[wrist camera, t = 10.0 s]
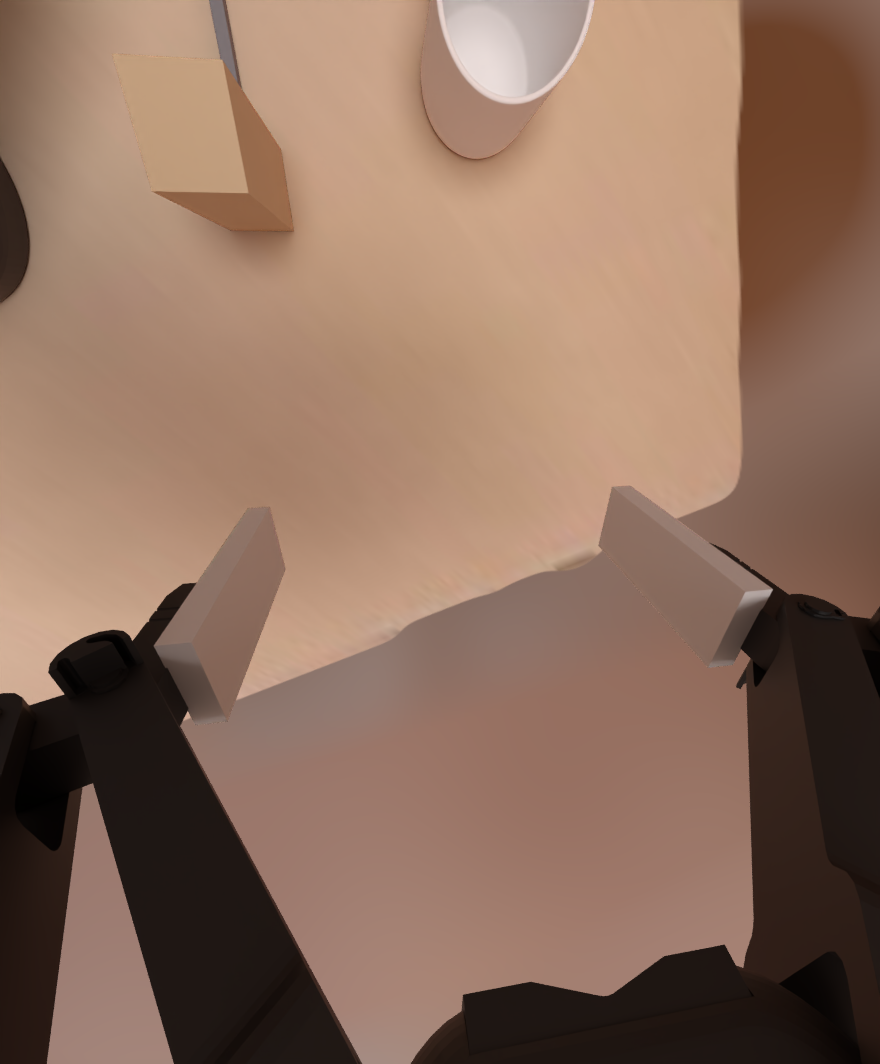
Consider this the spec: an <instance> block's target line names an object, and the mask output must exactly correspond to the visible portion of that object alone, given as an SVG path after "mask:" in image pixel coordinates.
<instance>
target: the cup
mask: <svg viewBox="0 0 880 1064" xmlns="http://www.w3.org/2000/svg"><path fill="white" fill-rule="evenodd" d="M594 1H595V0H430V2H429V9H428V16H427V23H426V29H425V36H424V43H423V50H422V59H421V88H422V95H423V101H424V105H425V109H426V112H427V115H428V118H429V120H430V123H431V125H432V127H433V129H434V130H435V132H436V134H437V135H438V136H439V138H440V139H441V140H442V141H443V143H444V144H445V145H446V146H447V147H448V148H450V149H451V150H452V151H454V152H455V153H457V154H459V155H461V156H463V157H467V158H472V159H482V158H487V157H490V156H493V155H495V154H497V153H499V152H500V151H502V150H503V149H505V148H506V147H507V146H508V145H509V144H510V143H511V142H512V141H513V140H514V139H515V138H516V137H517V135H518V134H519V133H520V132H521V130H522V129H523V128H524V127H525V125H526V124H527V123H528V121H529V120H530V119H531V118H532V116H533V115H534V114H535V112H536V111H537V110H538V109H539V107H540V106H541V105H542V103H543V102H544V101H545V100H546V98H547V97H548V96H549V94H550V93H551V92H552V91H553V89H554V88H555V87H556V85H557V84H558V83H559V82H560V80H561V79H562V78H563V76H564V75H565V74H566V73H567V71H568V70H569V68H570V67H571V65H572V64H573V62H574V60H575V58H576V57H577V55H578V53H579V51H580V48H581V46H582V44H583V41H584V39H585V36H586V34H587V30H588V27H589V24H590V20H591V16H592V12H593V7H594Z"/></svg>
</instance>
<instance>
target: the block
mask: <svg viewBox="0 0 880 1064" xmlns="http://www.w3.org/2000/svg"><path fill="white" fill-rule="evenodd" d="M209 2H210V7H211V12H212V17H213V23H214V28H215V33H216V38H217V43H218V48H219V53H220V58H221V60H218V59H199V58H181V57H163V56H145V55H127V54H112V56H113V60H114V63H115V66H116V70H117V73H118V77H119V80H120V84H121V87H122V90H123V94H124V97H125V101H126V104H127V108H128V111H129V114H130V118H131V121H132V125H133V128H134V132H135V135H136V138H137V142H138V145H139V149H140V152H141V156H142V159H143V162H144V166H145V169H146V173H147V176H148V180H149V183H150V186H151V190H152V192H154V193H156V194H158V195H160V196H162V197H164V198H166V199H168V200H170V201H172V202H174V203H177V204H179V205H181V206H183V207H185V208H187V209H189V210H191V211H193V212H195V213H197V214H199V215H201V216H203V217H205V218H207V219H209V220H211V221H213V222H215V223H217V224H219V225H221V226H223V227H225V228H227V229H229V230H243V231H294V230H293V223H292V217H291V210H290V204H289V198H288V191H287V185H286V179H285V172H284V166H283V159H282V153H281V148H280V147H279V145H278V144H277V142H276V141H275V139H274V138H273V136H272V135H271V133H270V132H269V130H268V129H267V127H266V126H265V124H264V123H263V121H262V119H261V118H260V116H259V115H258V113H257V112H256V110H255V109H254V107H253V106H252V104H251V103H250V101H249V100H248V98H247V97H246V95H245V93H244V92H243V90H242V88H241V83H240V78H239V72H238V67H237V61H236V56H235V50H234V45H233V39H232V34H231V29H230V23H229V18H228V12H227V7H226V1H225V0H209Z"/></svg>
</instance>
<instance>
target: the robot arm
mask: <svg viewBox="0 0 880 1064" xmlns="http://www.w3.org/2000/svg"><path fill="white" fill-rule="evenodd" d="M27 257H28V234H27V227H26V222H25V217H24V213H23V209H22V206H21V203H20V200H19V197H18V195H17V192H16V190H15V187H14V185H13V183H12V181H11V179H10V177H9V175H8V173H7V171H6V169H5V167H4V165H3V164H2V162H1V160H0V302H1V301H2V300H4V299H5V298H6V297H8V296H9V295H10V294H11V293H12V292H13V291H14V289H15V288H16V287H17V285H18V284H19V282H20V280H21V278H22V276H23V274H24V271H25V268H26V263H27ZM598 546H599V547H600V548H601V549H602V550H603V551H604V552H605V553H606V555H607V556H608V557H609V558H610V559H611V560H612V561H613V562H614V563H615V564H616V565H617V567H618V568H619V569H620V570H621V571H622V572H623V573H624V575H625V576H626V577H627V578H628V579H629V580H630V581H631V582H632V583H633V585H634V586H635V587H636V588H637V589H638V590H639V591H640V592H641V593H642V594H643V596H644V597H645V598H646V599H647V600H648V601H649V602H650V604H651V605H652V606H653V607H654V608H655V609H656V610H657V611H658V612H659V614H660V615H661V616H662V617H663V618H664V619H665V620H666V621H667V622H668V623H669V625H670V626H671V627H672V628H673V629H674V630H675V631H676V632H677V634H678V635H679V636H680V637H681V638H682V639H683V640H684V641H685V643H686V644H687V645H688V646H689V647H690V648H691V649H692V650H693V651H694V652H695V654H696V655H697V656H698V657H699V658H700V659H701V660H702V661H703V663H704V664H705V665H706V666H707V667H708V668H710V667H719V666H728V665H733V663H734V661H735V660H736V658H737V656H738V654H739V652H740V650H741V649H742V650H743V651H744V652H745V653H746V654H747V655H748V656H749V657H750V658H751V659H750V661H749V663H748V665H747V667H746V668H745V670H744V672H743V674H742V676H741V677H740V679H739V681H738V683H737V686H736V687H737V688H739V689H741V687H742V685H743V684H745V683H747V714H748V715H747V716H748V749H749V777H750V778H749V781H750V814H751V847H752V876H753V877H752V879H753V912H754V922H753V932H752V937H751V940H750V943H749V946H748V949H747V952H746V956H745V962H744V968H742V967H739V966H736V965H735V963H734V961H733V960H732V957H731V956H730V954H729V952H728V950H727V948H726V946H725V945H720V946H715V947H711V948H705V949H700V950H695V951H690V952H684V953H679V954H673V955H668V956H664V957H663V958H661V959H660V960H659V961H657V962H656V963H654V964H653V965H652V966H650V967H649V968H648V969H646V970H645V971H643V972H642V973H641V974H640V975H638V976H637V977H635V978H634V979H632V980H631V981H630V982H628V983H627V984H626V985H624V986H623V987H622V988H620V989H619V990H617V991H616V992H615V993H614V994H611V995H609V996H598V995H593V994H588V993H583V992H578V991H573V990H568V989H563V988H558V987H553V986H549V985H544V984H539V983H534V982H528V983H522V984H517V985H512V986H506V987H501V988H496V989H491V990H485V991H480V992H475V993H470V994H465V995H463V1001H462V1011H461V1012H460V1013H458V1014H457V1015H455V1016H454V1017H453V1018H451V1019H450V1020H448V1021H447V1022H446V1023H444V1024H443V1025H442V1026H441V1027H440V1028H439V1029H438V1030H437V1031H436V1032H435V1033H434V1034H433V1035H432V1036H431V1037H430V1038H429V1039H428V1041H427V1042H426V1043H425V1044H424V1046H423V1047H422V1048H421V1049H420V1051H419V1052H418V1053H417V1055H416V1056H415V1058H414V1059H413V1061H412V1062H411V1064H880V607H879V608H878V610H877V611H876V613H875V614H874V615H873V617H872V618H871V619H868V618H860V617H852V616H848V615H847V614H846V613H845V612H844V611H842V610H841V609H840V608H838V607H837V606H835V605H833V604H831V603H829V602H827V601H825V600H822V599H819V598H816V597H813V596H809V595H803V594H791V595H789V594H787V593H786V592H784V591H783V590H782V589H780V588H779V587H777V586H776V585H775V584H773V583H772V582H770V581H769V580H768V579H766V578H765V577H763V576H762V575H760V574H759V573H758V572H756V571H755V570H753V569H750V567H749V566H748V565H746V564H745V563H744V562H740V561H739V559H738V558H737V557H735V556H734V555H732V554H731V553H730V552H728V551H726V550H724V549H722V548H720V547H718V546H716V545H714V544H711V543H709V542H707V541H706V540H704V539H703V538H701V537H700V536H699V535H698V534H696V533H695V532H693V531H692V530H690V529H689V528H688V527H686V526H685V525H683V524H682V523H681V522H679V521H678V520H677V519H675V518H674V517H673V516H671V515H670V514H669V513H667V512H666V511H664V510H663V509H662V508H660V507H659V506H658V505H656V504H655V503H653V502H652V501H651V500H649V499H648V498H647V497H645V496H644V495H642V494H641V493H640V492H638V491H637V490H635V489H634V488H633V487H631V486H617V487H612V489H611V494H610V498H609V502H608V507H607V511H606V515H605V520H604V524H603V528H602V532H601V537H600V541H599V545H598ZM284 572H285V565H284V561H283V557H282V553H281V549H280V545H279V541H278V537H277V533H276V529H275V525H274V521H273V518H272V514H271V510H270V507H261V508H248V509H247V510H246V512H245V513H244V515H243V516H242V518H241V519H240V520H239V522H238V523H237V525H236V526H235V528H234V529H233V531H232V532H231V534H230V535H229V537H228V538H227V539H226V541H225V542H224V544H223V545H222V547H221V548H220V550H219V551H218V553H217V554H216V556H215V557H214V558H213V560H212V561H211V563H210V564H209V566H208V567H207V569H206V570H205V572H204V573H203V575H202V576H201V577H200V579H199V580H198V582H197V583H189V584H182V585H181V586H179V587H178V588H177V589H175V590H174V591H173V592H171V593H170V594H169V595H167V596H166V598H165V599H164V600H163V602H162V603H161V604H160V606H159V607H158V608H157V611H155V612H154V614H153V615H152V616H151V617H150V619H149V622H147V623H146V624H145V625H144V627H143V628H142V629H141V631H140V632H139V633H138V635H137V636H136V637H135V639H134V640H133V641H132V640H131V638H130V636H129V635H128V634H127V633H125V632H124V631H119V630H109V631H102V632H98V633H95V634H92V635H89V636H86V637H84V638H82V639H80V640H78V641H76V642H74V643H72V644H70V645H69V646H68V647H66V648H65V649H64V650H63V651H61V652H60V653H59V654H57V656H56V657H55V658H54V659H53V661H52V662H51V663H50V666H49V672H48V673H49V674H50V675H51V677H52V678H53V679H54V681H55V682H56V683H57V685H58V686H59V687H60V689H61V690H62V691H63V693H64V694H65V695H62V696H58V697H55V698H52V699H49V700H46V701H42V702H39V703H36V704H33V705H30V706H29V705H28V704H27V703H26V702H25V700H24V699H23V698H22V697H20V696H19V695H17V694H15V693H2V694H0V1064H47V1057H48V1049H49V1042H50V1034H51V1026H52V1018H53V1010H54V1003H55V995H56V986H57V980H58V972H59V964H60V957H61V949H62V941H63V933H64V925H65V917H66V909H67V902H68V895H69V887H70V879H71V871H72V863H73V856H74V848H75V840H76V832H77V824H78V817H79V809H80V802H81V794H82V787H84V786H87V785H89V784H92V783H93V784H94V788H95V791H96V795H97V798H98V802H99V805H100V809H101V812H102V816H103V819H104V823H105V826H106V830H107V833H108V836H109V840H110V843H111V847H112V850H113V854H114V857H115V861H116V864H117V868H118V871H119V875H120V878H121V881H122V885H123V889H124V892H125V896H126V899H127V903H128V906H129V909H130V913H131V916H132V920H133V923H134V927H135V930H136V934H137V937H138V940H139V944H140V947H141V951H142V954H143V958H144V961H145V965H146V968H147V972H148V975H149V978H150V982H151V986H152V989H153V992H154V996H155V999H156V1003H157V1006H158V1010H159V1013H160V1016H161V1020H162V1024H163V1027H164V1031H165V1034H166V1037H167V1041H168V1044H169V1048H170V1052H171V1055H172V1059H173V1062H174V1064H362V1063H361V1061H360V1059H359V1057H358V1055H357V1053H356V1051H355V1050H354V1048H353V1046H352V1044H351V1042H350V1040H349V1038H348V1037H347V1035H346V1033H345V1031H344V1029H343V1028H342V1026H341V1024H340V1022H339V1020H338V1019H337V1017H336V1015H335V1013H334V1011H333V1009H332V1007H331V1006H330V1004H329V1002H328V1000H327V998H326V996H325V995H324V993H323V991H322V989H321V987H320V985H319V983H318V982H317V980H316V978H315V976H314V974H313V972H312V970H311V969H310V967H309V965H308V963H307V961H306V959H305V958H304V956H303V954H302V952H301V950H300V948H299V946H298V944H297V943H296V941H295V939H294V937H293V935H292V933H291V931H290V930H289V928H288V926H287V924H286V922H285V920H284V918H283V916H282V915H281V913H280V911H279V909H278V907H277V905H276V903H275V902H274V900H273V898H272V896H271V894H270V892H269V890H268V889H267V887H266V885H265V883H264V881H263V879H262V878H261V876H260V874H259V872H258V870H257V868H256V866H255V864H254V863H253V861H252V859H251V857H250V855H249V853H248V851H247V850H246V848H245V846H244V844H243V842H242V840H241V838H240V837H239V835H238V833H237V831H236V829H235V827H234V825H233V823H232V822H231V820H230V818H229V816H228V815H227V812H226V810H225V809H224V807H223V805H222V803H221V801H220V799H219V798H218V796H217V794H216V792H215V790H214V788H213V786H212V784H211V783H210V781H209V779H208V777H207V775H206V773H205V771H204V770H203V768H202V766H201V764H200V762H199V760H198V758H197V757H196V755H195V753H194V751H193V749H192V747H191V746H190V744H189V742H188V740H187V738H186V736H185V734H184V732H183V731H182V729H181V727H180V725H181V723H182V721H183V719H184V717H185V715H186V713H187V711H188V712H189V714H190V716H191V718H192V720H193V722H194V723H195V725H201V724H210V723H219V722H227V721H228V719H229V716H230V714H231V711H232V708H233V706H234V703H235V701H236V698H237V695H238V693H239V690H240V687H241V685H242V682H243V679H244V677H245V674H246V672H247V669H248V666H249V664H250V661H251V658H252V656H253V653H254V651H255V648H256V645H257V643H258V640H259V637H260V635H261V632H262V630H263V627H264V624H265V622H266V619H267V616H268V614H269V611H270V609H271V606H272V603H273V601H274V598H275V595H276V593H277V590H278V588H279V585H280V582H281V580H282V577H283V574H284Z"/></svg>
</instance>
